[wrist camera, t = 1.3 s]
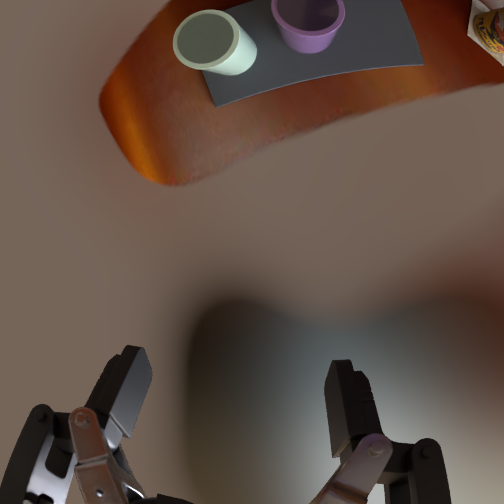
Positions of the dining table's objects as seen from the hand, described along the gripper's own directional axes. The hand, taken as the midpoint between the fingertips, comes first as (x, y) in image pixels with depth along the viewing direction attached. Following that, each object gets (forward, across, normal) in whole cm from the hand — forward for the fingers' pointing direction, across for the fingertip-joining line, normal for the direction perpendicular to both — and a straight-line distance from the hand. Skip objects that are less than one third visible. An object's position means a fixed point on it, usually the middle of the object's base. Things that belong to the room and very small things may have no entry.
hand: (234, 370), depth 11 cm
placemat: (+24, -5, -21) cm, 32 cm away
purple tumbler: (+23, -5, -21) cm, 32 cm away
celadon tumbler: (+24, +3, -18) cm, 31 cm away
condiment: (+20, -31, -30) cm, 48 cm away
